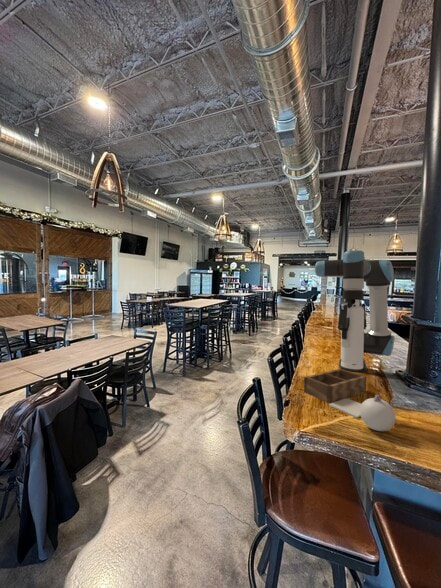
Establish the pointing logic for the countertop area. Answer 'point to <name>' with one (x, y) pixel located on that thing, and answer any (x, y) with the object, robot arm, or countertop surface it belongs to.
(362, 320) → the bottle
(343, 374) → the carrier
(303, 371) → the countertop surface
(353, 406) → the coaster
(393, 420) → the ornament
